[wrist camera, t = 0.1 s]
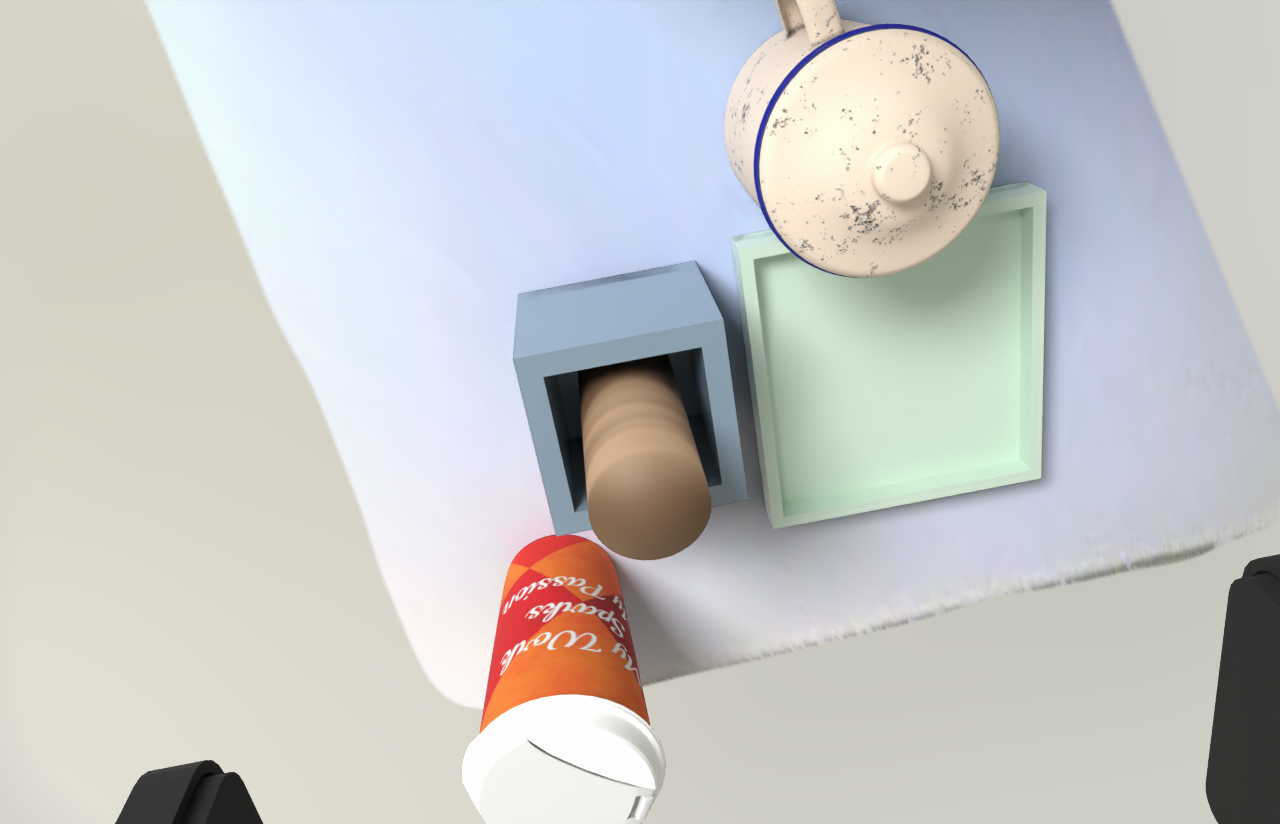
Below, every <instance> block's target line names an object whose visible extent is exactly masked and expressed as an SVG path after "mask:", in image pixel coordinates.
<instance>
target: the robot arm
mask: <svg viewBox="0 0 1280 824" xmlns="http://www.w3.org/2000/svg"><path fill="white" fill-rule="evenodd" d="M1206 794H1207V799H1208V802H1209V805H1210V808H1211V811H1212V813H1213V815H1214V817H1215V819H1216V821H1217V822H1218V824H1280V554H1279V555H1274V556H1268V557H1263V558H1258V559H1255V560H1252V561H1250V562H1249V563H1248V565H1247V566H1246V567H1245V569H1244V573H1243V576H1242V578H1240V579H1237V580H1235V581H1234V582H1233V583H1232V584H1231V587H1230V591H1229V596H1228V604H1227V612H1226V620H1225V628H1224V638H1223V646H1222V653H1221V662H1220V670H1219V678H1218V687H1217V694H1216V703H1215V711H1214V719H1213V727H1212V737H1211V744H1210V752H1209V760H1208V769H1207V777H1206ZM115 824H263V822H262V820H261V818H260V816H259V814H258V812H257V810H256V808H255V806H254V803H253V801H252V799H251V797H250V795H249V793H248V791H247V789H246V786H245V784H244V782H243V781H242V779H241V778H240V776H239V775H238V774H236V773H235V772H229V773H224V772H223V771H222V769H221V768H220V766H219V765H218V764H217V763H215V762H214V761H212V760H205V761H200V762H195V763H189V764H184V765H179V766H174V767H169V768H164V769H158V770H153V771H148V772H147V773H145V774H144V775H142V776H141V777H140V778H139V780H138V781H137V783H136V784H135V786H134V787H133V789H132V791H131V793H130V795H129V798H128V799H127V801H126V803H125V805H124V808H123V809H122V812H121V814H120V815H119V817H118V819H117V822H116V823H115Z"/></svg>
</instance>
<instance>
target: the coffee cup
mask: <svg viewBox="0 0 1280 824" xmlns="http://www.w3.org/2000/svg"><path fill="white" fill-rule="evenodd" d="M665 768H666V763H665V755H664V750H663V748H662V745H661V742H660V740H659V738H658V736H657V735H656V733H655V731H654V730H653V729H652V728H651V726H650V722H649V717H648V713H647V708H646V703H645V698H644V694H643V689H642V684H641V680H640V675H639V670H638V666H637V661H636V656H635V651H634V647H633V642H632V638H631V633H630V629H629V624H628V619H627V615H626V610H625V606H624V602H623V597H622V593H621V589H620V585H619V581H618V577H617V573H616V570H615V567H614V565H613V563H612V561H611V559H610V557H609V556H608V554H607V553H606V552H605V551H604V550H603V549H602V548H601V547H600V546H598V545H597V544H596V543H594V542H592V541H590V540H588V539H586V538H583V537H580V536H575V535H568V534H567V535H562V536H556V535H550V536H546V537H543V538H540V539H537V540H535V541H533V542H531V543H530V544H528V545H527V546H525V547H524V548H523V549H522V550H521V551H520V552H519V553H518V554H517V555H516V556H515V558H514V559H513V561H512V563H511V565H510V567H509V569H508V572H507V576H506V580H505V585H504V590H503V595H502V600H501V606H500V612H499V618H498V624H497V630H496V636H495V642H494V648H493V654H492V660H491V666H490V672H489V678H488V685H487V691H486V697H485V703H484V709H483V716H482V722H481V728H480V734H479V736H478V737H477V738H476V739H475V740H474V741H473V742H472V743H471V744H470V745H469V746H468V749H467V751H466V754H465V756H464V761H463V767H462V782H463V784H464V785H465V787H466V789H467V791H468V793H469V795H470V797H471V799H472V801H473V803H474V805H475V806H476V808H477V809H478V811H479V812H480V813H481V816H482V818H483V820H484V822H485V824H642V820H645V819H646V817H647V814H648V812H649V810H650V808H651V806H652V804H653V803H654V801H655V799H656V797H657V795H658V793H659V791H660V789H661V787H662V784H663V780H664V777H665Z"/></svg>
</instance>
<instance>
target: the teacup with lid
mask: <svg viewBox="0 0 1280 824" xmlns="http://www.w3.org/2000/svg"><path fill="white" fill-rule="evenodd" d="M775 3H776V7H777V11H778V14H779V17H780V20H781V24H782V27H783V30H782V31H780V32H778V33H777V34H775V35H774V36H772V37H771V38H769V39H768V40H767V41H766V42H764V43H763V44H762V45H761V46H760V47H759V48H758V49H757V50H756V51H755V52H754V53H753V54H752V55H751V56H750V58H749V59H748V60H747V61H746V63H745V64H744V66H743V67H742V69H741V70H740V72H739V74H738V76H737V77H736V79H735V82H734V84H733V86H732V88H731V91H730V94H729V97H728V101H727V105H726V110H725V116H724V139H725V147H726V151H727V155H728V159H729V162H730V165H731V167H732V169H733V171H734V174H735V175H736V177H737V179H738V180H739V182H740V183H741V185H742V186H743V188H744V189H745V190H746V191H747V192H748V194H749V195H750V196H751V197H752V198H753V200H754V201H755V202H756V203H757V204H758V205H759V207H760V208H761V210H762V212H763V215H764V217H765V219H766V221H767V223H768V224H769V226H770V228H771V230H772V231H773V233H774V234H775V235H776V237H777V238H778V239H779V240H780V242H781V243H782V244H783V245H784V246H785V247H786V248H787V249H788V250H789V251H790V252H791V253H793V254H794V255H795V256H796V257H798V258H799V259H801V260H802V261H803V262H805V263H807V264H809V265H811V266H812V267H814V268H817V269H819V270H821V271H824V272H827V273H830V274H833V275H838V276H843V277H852V278H872V277H882V276H887V275H893V274H896V273H900V272H903V271H906V270H908V269H911V268H914V267H916V266H918V265H920V264H922V263H924V262H926V261H928V260H929V259H931V258H932V257H934V256H936V255H937V254H938V253H940V252H941V251H943V250H944V249H945V248H946V247H948V246H949V245H950V244H951V243H952V242H953V241H955V240H956V239H957V237H958V236H959V235H960V234H961V233H962V232H963V231H964V230H965V229H966V228H967V226H968V225H969V224H970V223H971V221H972V220H973V219H974V217H975V216H976V214H977V213H978V211H979V209H980V208H981V206H982V204H983V203H984V201H985V198H986V196H987V194H988V192H989V190H990V187H991V184H992V182H993V179H994V175H995V172H996V168H997V163H998V157H999V148H1000V128H999V119H998V114H997V109H996V105H995V102H994V99H993V96H992V93H991V91H990V88H989V86H988V84H987V82H986V80H985V78H984V76H983V75H982V73H981V71H980V70H979V69H978V67H977V66H976V64H975V63H974V62H973V61H972V60H971V59H970V57H969V56H968V55H967V54H966V53H965V52H964V51H962V50H961V49H960V48H959V47H958V46H956V45H955V44H954V43H952V42H951V41H949V40H948V39H946V38H944V37H942V36H940V35H938V34H936V33H934V32H931V31H929V30H926V29H923V28H919V27H915V26H909V25H902V24H880V25H870V24H865V23H861V22H856V21H851V20H847V19H840V15H839V12H838V9H837V6H836V3H835V0H775Z"/></svg>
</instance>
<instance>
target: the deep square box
mask: <svg viewBox="0 0 1280 824" xmlns="http://www.w3.org/2000/svg"><path fill="white" fill-rule="evenodd" d="M663 354H668V356H669V359H670V362H671V366H672V369H673V372H674V375H675V379H676V382H677V385H678V388H679V392H680V395H681V398H682V402H683V405H684V408H685V411H686V415H687V418H688V421H689V425H690V428H691V431H692V434H693V438H694V441H695V444H696V448H697V451H698V454H699V457H700V461H701V464H702V467H703V470H704V474H705V477H706V480H707V484H708V487H709V490H710V494H711V503H712V504H711V507H714V506H719V505H725V504H730V503H735V502H740V501H746V500H748V495H747V488H746V481H745V474H744V466H743V459H742V452H741V444H740V437H739V430H738V422H737V415H736V408H735V400H734V393H733V386H732V379H731V371H730V364H729V357H728V349H727V342H726V335H725V327H724V320H723V317H722V315H721V313H720V311H719V309H718V307H717V305H716V303H715V301H714V299H713V297H712V295H711V293H710V291H709V288H708V286H707V284H706V282H705V280H704V278H703V276H702V274H701V272H700V270H699V268H698V266H697V264H696V262H695V261H691V262H686V263H680V264H675V265H670V266H664V267H659V268H654V269H649V270H643V271H638V272H633V273H627V274H622V275H617V276H611V277H606V278H601V279H596V280H590V281H585V282H580V283H574V284H569V285H564V286H558V287H553V288H548V289H542V290H537V291H532V292H527V293H521V294H518V302H517V314H516V326H515V338H514V350H513V362H514V366H515V370H516V374H517V378H518V382H519V386H520V390H521V394H522V399H523V403H524V407H525V411H526V415H527V419H528V423H529V427H530V431H531V435H532V440H533V444H534V448H535V452H536V456H537V460H538V464H539V468H540V472H541V476H542V480H543V485H544V489H545V493H546V497H547V501H548V505H549V509H550V513H551V517H552V521H553V525H554V530H555V534H556V536H562V535H567V534H572V533H577V532H583V531H588V530H593V529H592V527H591V524H590V521H589V515H588V503H587V490H586V476H585V463H584V450H583V437H582V423H581V410H580V397H579V384H578V370H584V369H589V368H594V367H599V366H605V365H610V364H615V363H621V362H626V361H631V360H636V359H642V358H647V357H652V356H658V355H663Z"/></svg>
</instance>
